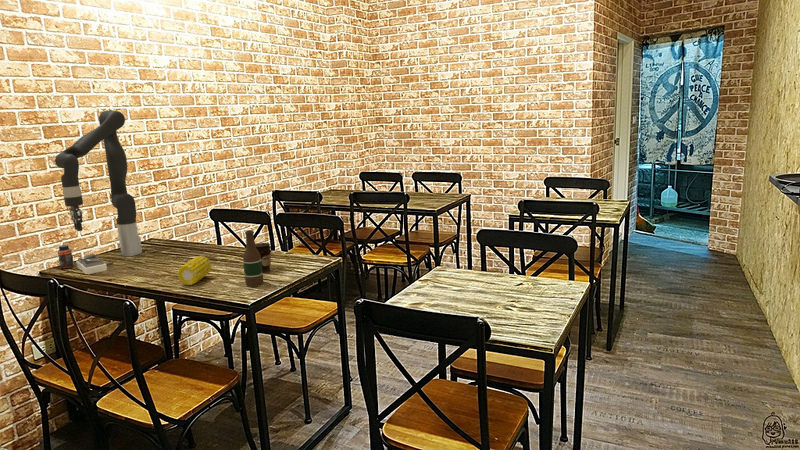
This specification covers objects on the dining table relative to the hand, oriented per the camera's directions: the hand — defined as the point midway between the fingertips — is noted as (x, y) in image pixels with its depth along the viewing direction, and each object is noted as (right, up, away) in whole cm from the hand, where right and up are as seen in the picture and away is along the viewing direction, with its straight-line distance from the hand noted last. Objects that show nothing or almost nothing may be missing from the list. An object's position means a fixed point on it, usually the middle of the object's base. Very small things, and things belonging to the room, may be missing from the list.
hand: (78, 229), depth 259 cm
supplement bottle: (-9, -19, +6) cm, 22 cm away
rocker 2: (+8, -15, -2) cm, 17 cm away
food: (+65, -23, -20) cm, 72 cm away
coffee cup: (+93, -19, -10) cm, 95 cm away
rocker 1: (+2, -14, +5) cm, 15 cm away
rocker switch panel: (+7, -19, +4) cm, 20 cm away
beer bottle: (+93, -24, -27) cm, 100 cm away
